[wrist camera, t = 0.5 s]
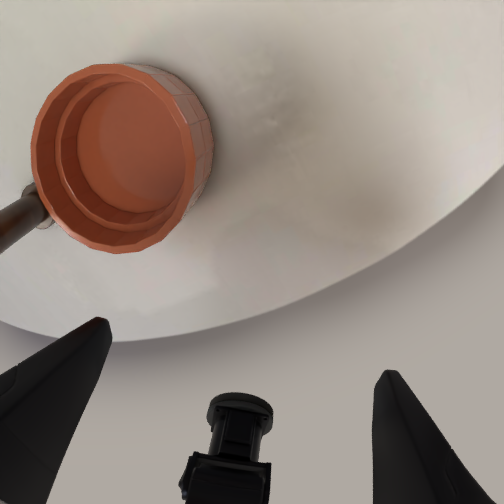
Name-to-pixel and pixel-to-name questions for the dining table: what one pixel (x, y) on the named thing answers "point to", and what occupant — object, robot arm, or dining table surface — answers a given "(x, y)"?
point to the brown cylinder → (23, 217)
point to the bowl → (120, 155)
